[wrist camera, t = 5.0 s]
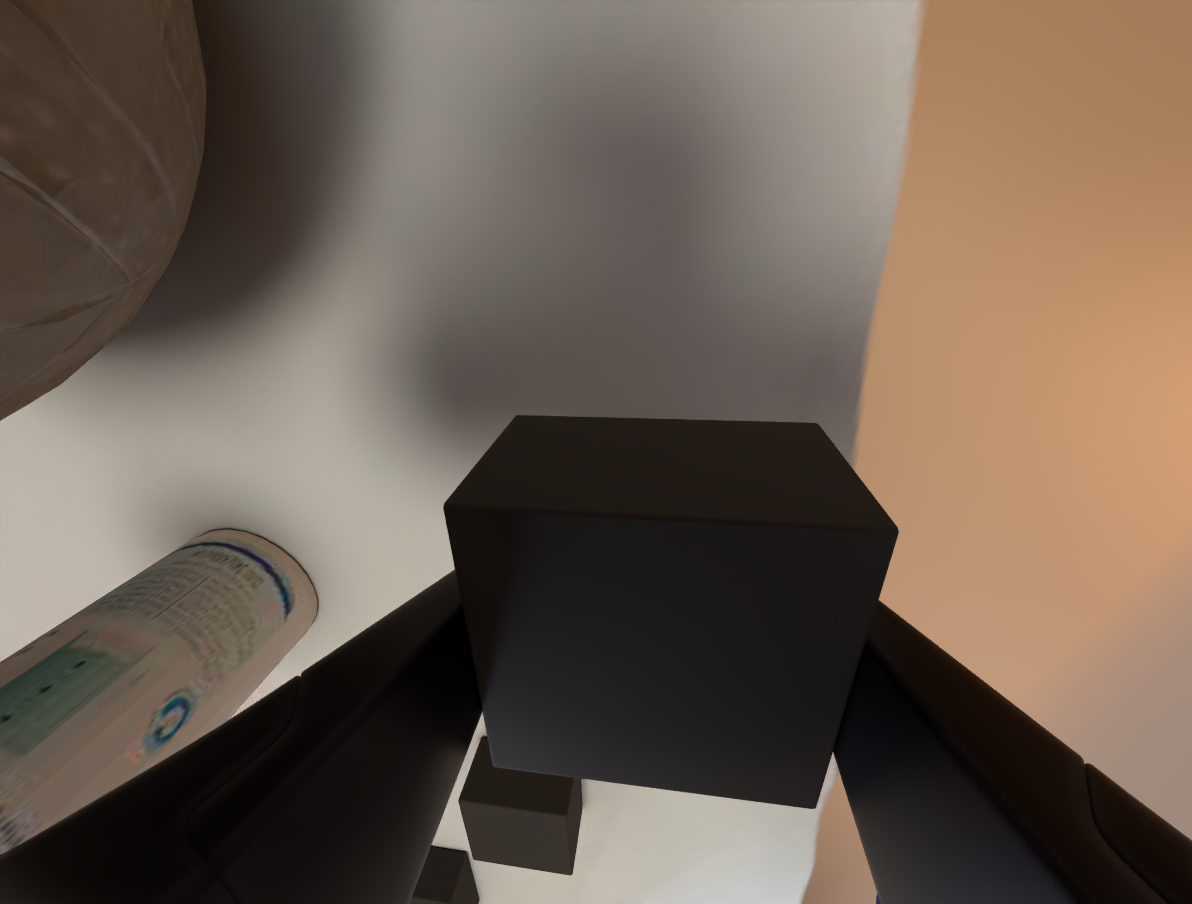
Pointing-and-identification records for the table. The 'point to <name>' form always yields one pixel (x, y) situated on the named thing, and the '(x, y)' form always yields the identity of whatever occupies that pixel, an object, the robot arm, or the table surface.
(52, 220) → the bowl
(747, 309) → the table surface
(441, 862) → the base pad
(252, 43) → the table surface
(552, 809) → the top pad
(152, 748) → the spray can
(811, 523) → the middle pad
